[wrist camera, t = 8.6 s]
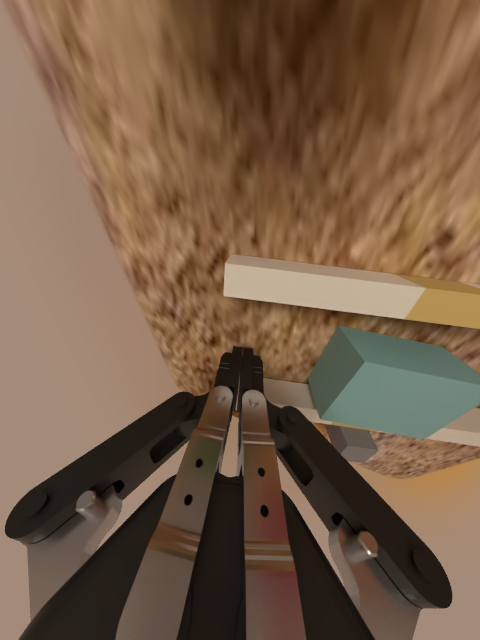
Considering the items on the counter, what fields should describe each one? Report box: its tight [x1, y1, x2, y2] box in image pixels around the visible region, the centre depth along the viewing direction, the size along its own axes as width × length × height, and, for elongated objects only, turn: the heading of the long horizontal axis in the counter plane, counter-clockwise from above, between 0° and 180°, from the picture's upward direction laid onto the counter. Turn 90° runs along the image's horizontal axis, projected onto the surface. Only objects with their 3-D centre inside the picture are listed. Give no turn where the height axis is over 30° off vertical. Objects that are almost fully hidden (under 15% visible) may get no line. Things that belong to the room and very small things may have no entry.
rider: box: [308, 325, 480, 440], centre depth 13 cm, size 8×6×4 cm
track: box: [223, 254, 480, 463], centre depth 13 cm, size 24×15×4 cm, turn 84°
